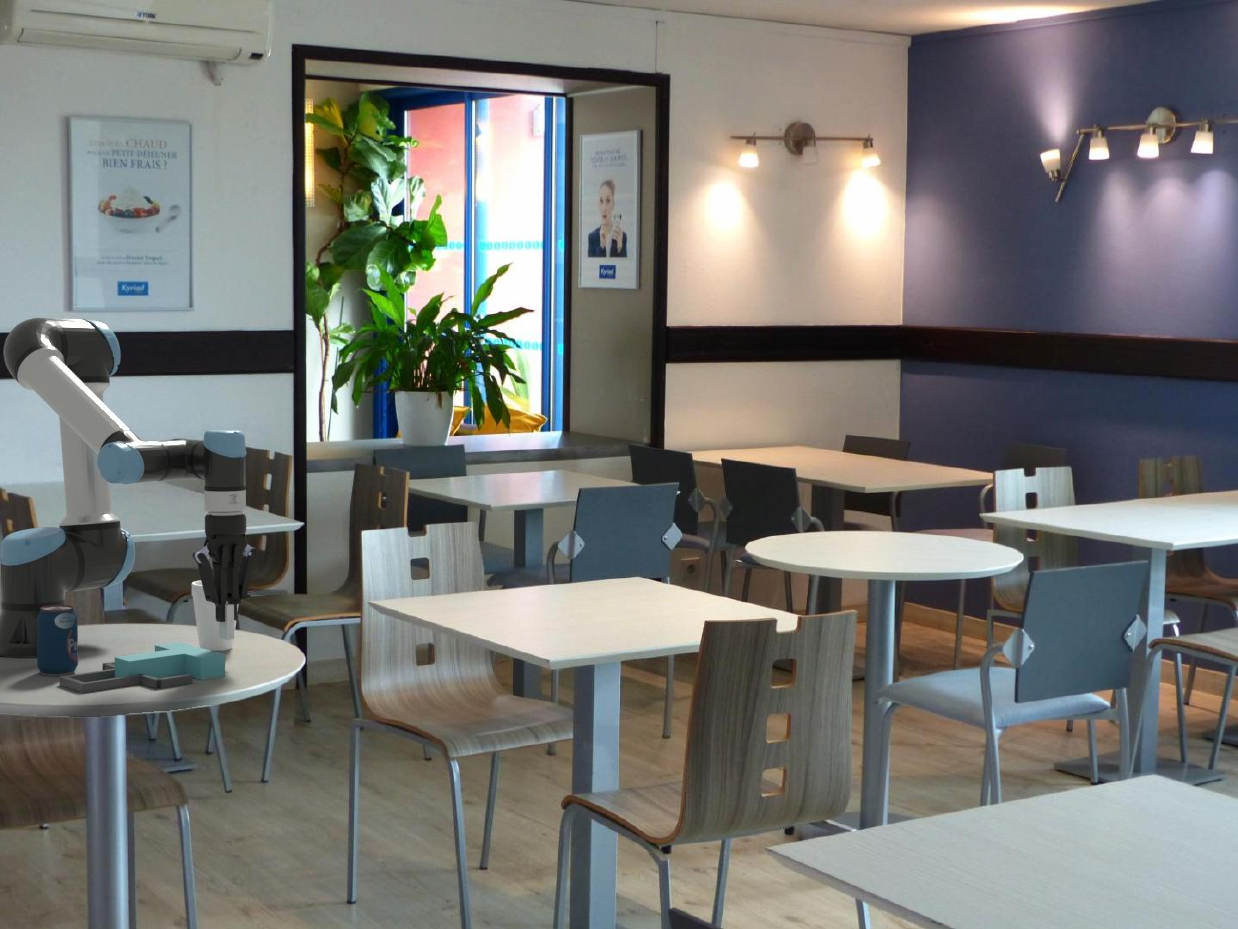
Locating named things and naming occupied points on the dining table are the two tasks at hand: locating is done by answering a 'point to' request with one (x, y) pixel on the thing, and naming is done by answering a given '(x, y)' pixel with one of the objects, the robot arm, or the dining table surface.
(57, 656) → the soda can
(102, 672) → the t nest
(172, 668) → the t block
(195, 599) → the foam cup
